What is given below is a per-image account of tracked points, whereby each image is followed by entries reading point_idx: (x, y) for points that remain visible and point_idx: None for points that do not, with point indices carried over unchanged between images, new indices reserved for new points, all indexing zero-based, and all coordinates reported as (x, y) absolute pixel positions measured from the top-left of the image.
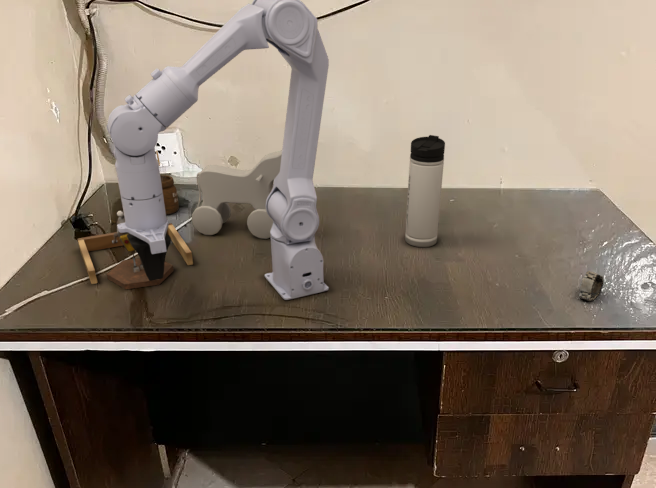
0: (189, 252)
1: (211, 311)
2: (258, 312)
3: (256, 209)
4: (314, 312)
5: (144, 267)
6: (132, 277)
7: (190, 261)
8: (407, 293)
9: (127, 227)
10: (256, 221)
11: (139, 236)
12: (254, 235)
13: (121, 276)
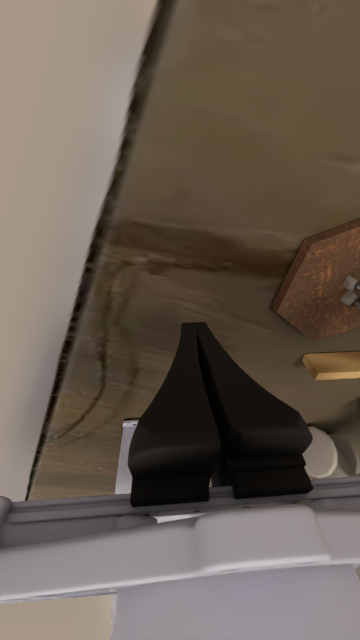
0: (316, 377)
1: (129, 354)
2: (104, 396)
3: (336, 469)
4: (87, 432)
5: (178, 351)
6: (329, 266)
7: (306, 362)
8: (103, 476)
9: (206, 575)
10: (319, 452)
11: (53, 566)
12: (311, 427)
13: (356, 244)
